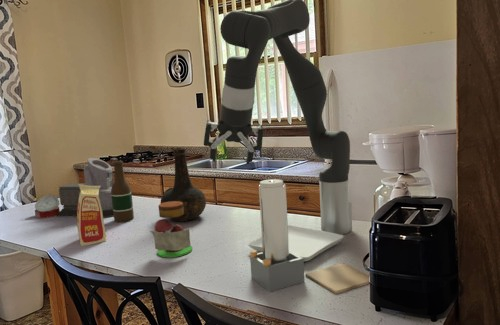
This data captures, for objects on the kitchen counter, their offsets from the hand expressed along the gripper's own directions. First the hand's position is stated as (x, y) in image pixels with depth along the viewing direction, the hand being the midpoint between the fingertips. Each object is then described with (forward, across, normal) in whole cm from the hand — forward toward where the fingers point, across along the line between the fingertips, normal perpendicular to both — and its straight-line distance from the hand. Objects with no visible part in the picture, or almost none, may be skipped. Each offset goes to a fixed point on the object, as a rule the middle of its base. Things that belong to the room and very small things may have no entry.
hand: (230, 161), depth 107 cm
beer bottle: (+58, +38, -44) cm, 82 cm away
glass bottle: (+53, +13, -41) cm, 68 cm away
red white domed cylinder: (+72, +74, -59) cm, 119 cm away
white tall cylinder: (+23, -14, +18) cm, 32 cm away
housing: (+22, -14, +17) cm, 32 cm away
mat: (+19, -29, +19) cm, 39 cm away
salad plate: (+30, -23, -2) cm, 38 cm away
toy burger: (+38, +14, -6) cm, 41 cm away
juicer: (+67, +54, -58) cm, 104 cm away
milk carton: (+50, +43, -22) cm, 69 cm away
